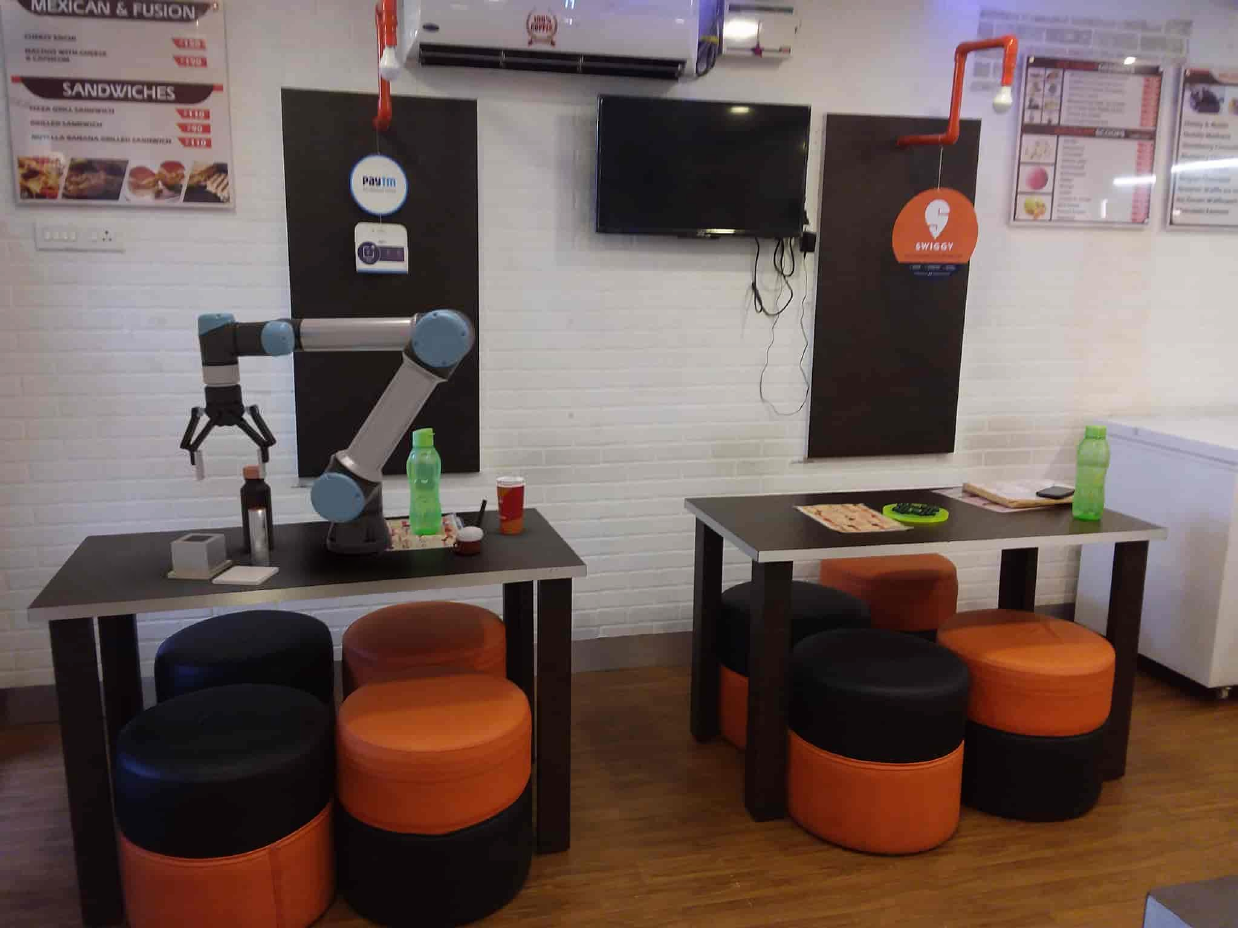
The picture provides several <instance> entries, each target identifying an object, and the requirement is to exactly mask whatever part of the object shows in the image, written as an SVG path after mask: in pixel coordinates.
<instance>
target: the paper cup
mask: <svg viewBox="0 0 1238 928" xmlns="http://www.w3.org/2000/svg"><path fill="white" fill-rule="evenodd" d="M526 484H527V483H526V482H525V479H524V478H523V477H521V476H517V477H516V476H502V477H501V476H500V477H497V480H496V482H495V486H496V493H497V494H496V496H497V506H498V507H497V508H498V521H499V530H500V533H501V534H503V535H508V536H509V535H510V536H511V535H518V534H521V533H522V531H523V525H524V519H523V518H524V500H525V485H526Z"/></svg>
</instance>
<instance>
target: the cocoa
mask: <svg viewBox="0 0 1238 928" xmlns="http://www.w3.org/2000/svg"><path fill="white" fill-rule="evenodd" d="M487 503H488V499H487V500H486V499H482V501H481V505H480V509H479V512H478V517H477V520H476V523H475V526H466V527H463V528H462V529H459V530H458V531H456V534H455V541H454V542H453V544H452V547H453V549H454V551H456V552H458V553H460V554H463V555H468V556H469V555H475V554H477V553H478V552H480V551H481V549H482V545H483V539H484V538H483V536H484V532H483V529H481V527H482V523H483V518H484V515H485V511H486V508H487Z"/></svg>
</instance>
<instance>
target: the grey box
mask: <svg viewBox="0 0 1238 928" xmlns="http://www.w3.org/2000/svg"><path fill="white" fill-rule="evenodd" d="M225 536H226V535H225V534H224V533H196V532H195V533H194V532H189V533H188V534H186V535H183V536H181V537H180V538H178V539H176V540H174V541H172V542H170V547H171V548H170V549H171V558H172V559H171V560H172V561H171V563H172V570H171V571H169V572H167V573H166V575H167V579H180V580H181V579H184V580H205V581H206V580H209V579H211V578H213V577H214V576H215V575H218V574H219V573H220V572H221V573H222V571H224V570H225V569H228V567H230V566H232V565H233V560H232V559H227V552H226V549H227V548H226V539H225V538H226V537H225Z"/></svg>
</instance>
